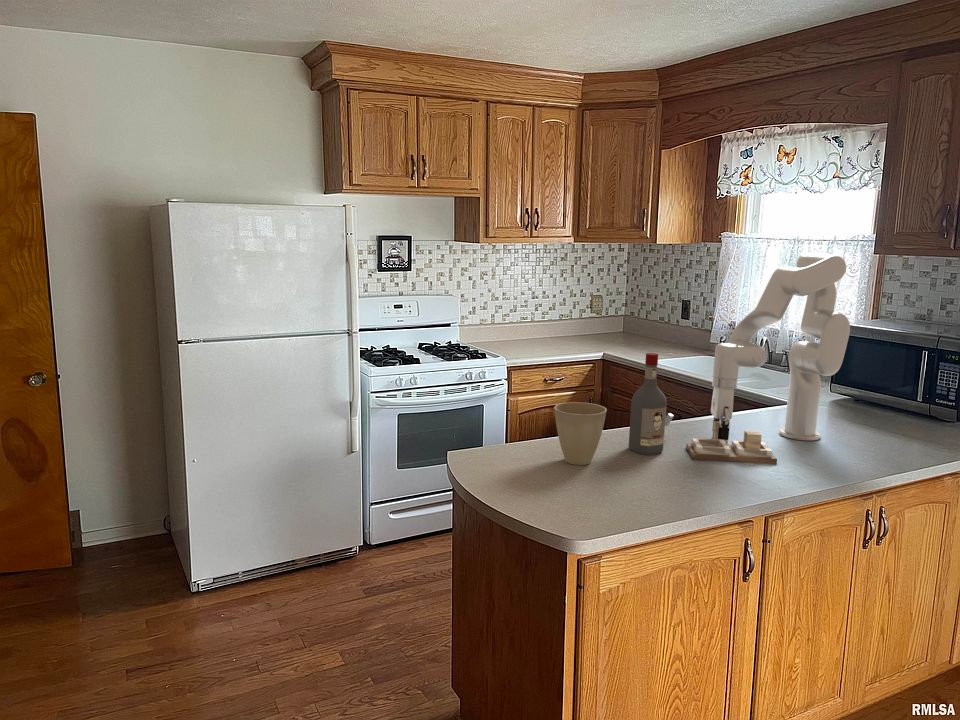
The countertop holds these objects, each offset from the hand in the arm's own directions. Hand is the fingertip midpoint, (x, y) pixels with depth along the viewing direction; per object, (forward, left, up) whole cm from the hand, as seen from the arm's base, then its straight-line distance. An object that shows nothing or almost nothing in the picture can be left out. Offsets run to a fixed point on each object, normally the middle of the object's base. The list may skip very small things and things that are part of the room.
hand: (720, 435), depth 242 cm
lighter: (-3, -18, -2) cm, 18 cm away
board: (+15, 0, -2) cm, 15 cm away
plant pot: (+28, -46, -2) cm, 54 cm away
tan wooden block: (0, 0, -2) cm, 2 cm away
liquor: (+14, -25, -2) cm, 29 cm away
